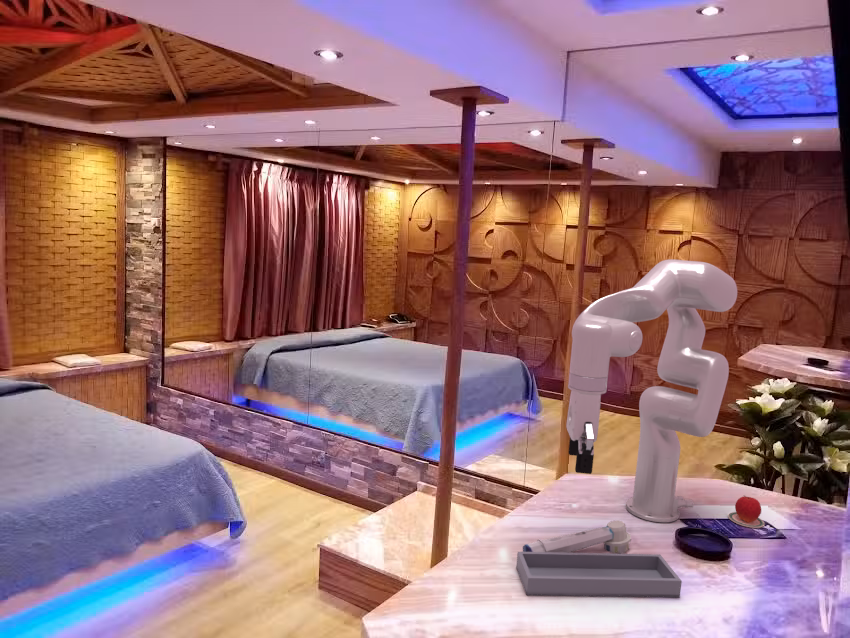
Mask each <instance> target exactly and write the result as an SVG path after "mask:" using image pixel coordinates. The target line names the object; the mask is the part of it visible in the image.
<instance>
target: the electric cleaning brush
mask: <svg viewBox="0 0 850 638" xmlns="http://www.w3.org/2000/svg"><path fill="white" fill-rule="evenodd" d="M631 541H632V537H631V534H630V533H629V532H627V527H626V523H625V522H623V521H622V520H616V519H615V520H611V521H609V522H608V523H607V524H606V525H605V526H601V527H598V528H597V527H596V528H592V529H589V530H588V529H587V530H584V531H578V532H573V533H568V534H563V535H559V536H553V537H549V538H546V539H544V538H543V539H542V538H538V539H536V541H533V542H530V543H526V544H524V545H523V546H522V552H563V553H574V552H576V551H579V550H583V549H586V548H589V547H593V546H596V545H598V544H603V548H604V550H606V551H607V552H608V553H611V554H626V552H627V551H628V550H630V543H631Z"/></svg>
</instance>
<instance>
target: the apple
mask: <svg viewBox="0 0 850 638" xmlns="http://www.w3.org/2000/svg"><path fill="white" fill-rule="evenodd" d="M734 505H735V506H734V509H735V511H732V512H729V513H728V514H727V517H728V519H729V520H730V521H732V522H733V523H736V524H737V525H740V526H742V527H747V528H751V529H752V528H755V529H757V528H758V529H759V528H763V527H764V526H765V522H764V520H763V519H761V518H760V516H761V514H762V507H761V503H760V502H759V501H758V499H756V498H754V497H751V496H746V495H744V496H741V497H739V498H738V499H737V500H736V501H735V504H734Z"/></svg>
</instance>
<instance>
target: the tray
mask: <svg viewBox="0 0 850 638" xmlns="http://www.w3.org/2000/svg"><path fill="white" fill-rule="evenodd" d="M515 566H516V570H517V574H518V575H519V579H520V581H521V584H522V586H523V589H524V592H525V594H526V596H537V597H538V596H541V597H542V596H544V597H545V596H546V597H547V596H548V597H549V596H550V597H556V596H557V597H598V598H599V597H600V598H601V597H604V598H605V597H607V598H608V597H611V598H612V597H613V598H668V599H669V598H671V599H672V598H673V599H674V598H675V599H677V598H678V599H679V598H680V597H681V588H682V583H683V582H682V579H681V578H680V577H679V575H678V574H677V573H676V572H675V570H674V569H673V568H672V566H671V565H670V564H669V563H668V562H667V561H666V560H665V558H664V557H663V556H662V555H661V554H655V553H654V554H652V553H651V554H649V553H622V554H620V553H611V552H608V553H607V552H605V553H602V552H601V553H600V552H570V553H563V552H523V551H517V557H516V565H515Z"/></svg>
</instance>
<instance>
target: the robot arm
mask: <svg viewBox="0 0 850 638" xmlns="http://www.w3.org/2000/svg"><path fill="white" fill-rule="evenodd" d="M737 298H738V286H737V283H736V281H735V280H734V278H733V277H732V276H731V275H729V274H728V273H726V272H725V271H724V270H722V269H720V268H719V267H717V266H715V265H713V264H711V263H708V262H704V261H697V260H683V259H675V258H674V259H664V260H661V261H659V262H658V263H657V264H655V265H654V267H652V268H651V269H650V270H649V272H647V273H646V274H645V275H644V276H643V277H642V278H641V279H640V280H639V281H638V282H637V283H636V284H635V285H634V286H633V287H631V288H626V289H624V290H620V291H618V292H615V293H612V294H609V295H606V296H604V297H601V298H599V299H597V300H594V301H593V302H592V303H590V304H589V306H587V307H586V308H585V309H584V310H583V311H581V313H580V314H579V315H578V317H577V318H576V319H575V321H574V323H573V326H572V330H571V338H572V342H571V343H572V344H571V353H570V361H569V363H570V364H569V375H568V384H567V388H568V389H569V390H570V395H569V404H568V410H567V418H566V425H565V426H566V430H567V432H568V436H569V442H568V443H569V444H568V455H570V456H575V458H576V459H575V466H574V467H575V468H574V470H575V471H574V472H575V473H576V474H586V475H591V474H592V473H593V466H594V457H595V456H594V455H595V453H594V452H595V449H594V447H595V446H594V443H595V442H596V441H598V439H597V438H598V434H599V425H600V424H599V423H600V413H601V397H602V395H604V394H606V393H607V391H608V390H607V388H608V378H609V369H610V360H611V357H616V358H626V357H630V356H633V355H634V354H635V353H637V352H638V350H640V348H641V346H642V343H643V333H642V330H641V328H640V326H638V325H637V324H636V323H640V322H647V321H651V320H655V319H657V318H660V317H661V316H662V315H663V313H665V311H666V312H667V316H668V327H667V331H666V335H665V339H664V342H663V345H662V349H661V352H660V354H659V358H658V363H657V368H656V369H657V370H656V371H657V375H658V377H659V378H660V379H661V380H663V381H665V382H668V383H669V384H670V383H671V384H674V385H677V386H682V387H686V388H691V389H695V390H698V391H697V394H695V393H690V392H687V391H683V390H679V389H676V388H675V389H674V388H671V387H667V386H661V385H660V386H659V385H655V386H651V387H648V388H645V390H644V391H643V392H642V393H641V394H640V397H639V403H638V407H639V411H638V412H639V422H640V426H639V430H640V431H639V441H638V451H637V460H636V469H635V478H634V484H633V485H634V486H633V487H634V488H633V496H632V497H628V499H626V501H625V508H626V511H628V512H629V513H630V514H632V515H633V516H635V517H637V518H640V519H642V520H645V521H650V522H655V523H673V522H676V520H678V519H679V518H680V509H681V508H688V509H691V508H693V507H694V500H692V499H686V498H685V499H684V496H681V495H679V496H678V495H677V496H676V487H677V480H678V470H679V464H680V455H681V443H680V439H679V437H678V434H677V432H679V433H682V434H685V435H686V434H687V435H689V436H693V437H698V438H705V437H707V436H709V435H710V434H711V433H712V431H713V430H714V427H715V425H716V423H717V420H718V415H719V412H720V408H721V405H722V403H723V398H724V394H725V391H726V387H727V384H728V379H729V375H730V374H729V372H730V370H729V369H730V367H729V362H728V360H727V358H726V357H725V356H724V355H723V354H722V353H719V352H717V351H712V350H707V349H702V347H703V343H704V339H705V335H706V326H705V324H704V322H703V319H702V316H700V313H698V311H697V310H703V311H704V310H705V311H711V312H719V313H723V312H726V311H729V310H730V309H731V308H733V306H734V305H735V303H736V301H737Z"/></svg>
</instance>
